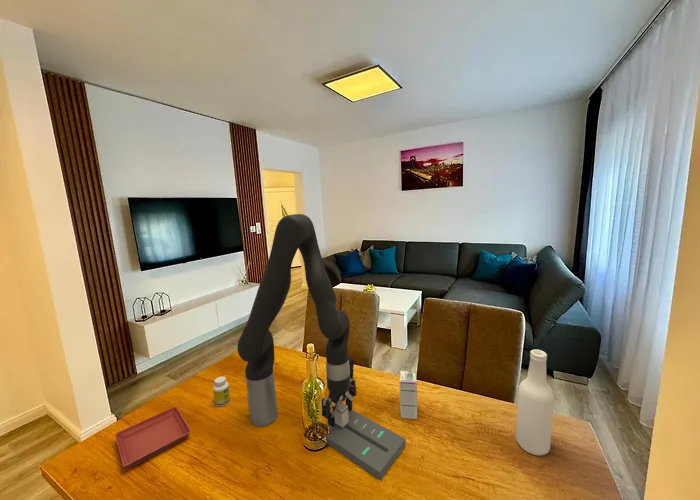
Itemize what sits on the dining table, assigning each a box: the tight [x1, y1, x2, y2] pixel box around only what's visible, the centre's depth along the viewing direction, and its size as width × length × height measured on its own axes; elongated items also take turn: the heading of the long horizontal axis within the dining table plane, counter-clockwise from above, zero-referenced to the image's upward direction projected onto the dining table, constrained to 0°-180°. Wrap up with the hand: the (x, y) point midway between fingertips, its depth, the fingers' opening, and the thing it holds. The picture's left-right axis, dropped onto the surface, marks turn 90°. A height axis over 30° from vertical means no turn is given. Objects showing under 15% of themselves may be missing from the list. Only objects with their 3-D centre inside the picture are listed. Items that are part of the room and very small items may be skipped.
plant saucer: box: [114, 406, 192, 468], centre depth 97 cm, size 18×18×3 cm
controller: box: [348, 355, 355, 380], centre depth 121 cm, size 4×12×10 cm, turn 169°
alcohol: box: [515, 348, 555, 457], centre depth 86 cm, size 9×9×30 cm
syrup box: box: [398, 370, 418, 420], centre depth 103 cm, size 6×6×14 cm
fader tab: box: [333, 402, 349, 428], centre depth 97 cm, size 4×3×6 cm
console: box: [325, 409, 407, 481], centre depth 93 cm, size 26×14×3 cm, turn 50°
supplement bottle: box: [212, 376, 231, 408], centre depth 113 cm, size 5×5×10 cm
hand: (340, 417), depth 97 cm, fingers open, 8 cm apart
